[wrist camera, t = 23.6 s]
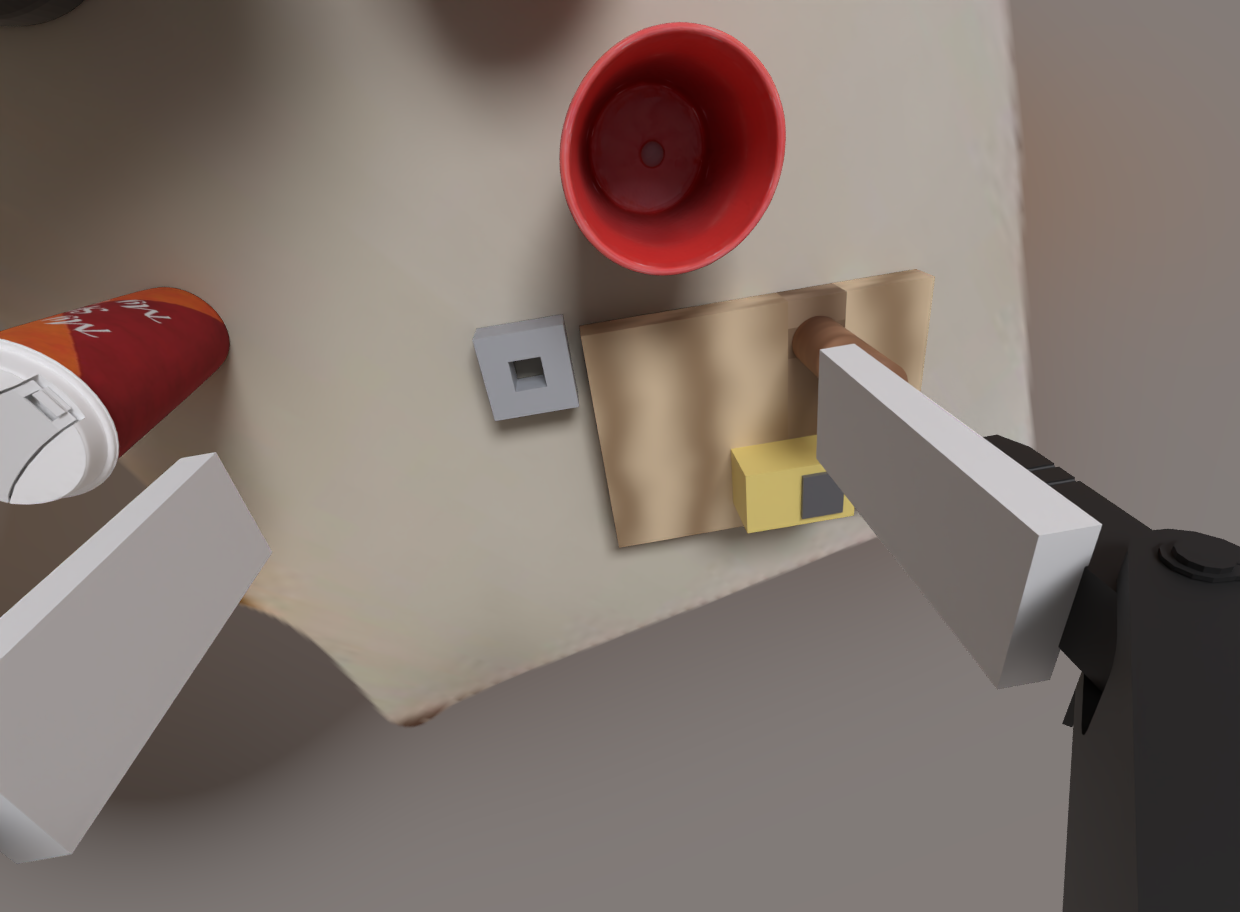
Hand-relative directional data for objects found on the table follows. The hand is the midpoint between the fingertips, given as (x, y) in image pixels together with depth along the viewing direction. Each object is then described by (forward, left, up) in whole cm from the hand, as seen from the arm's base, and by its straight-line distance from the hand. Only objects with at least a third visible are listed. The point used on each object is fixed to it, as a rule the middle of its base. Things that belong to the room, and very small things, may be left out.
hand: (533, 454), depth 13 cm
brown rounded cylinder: (+17, -9, -28) cm, 34 cm away
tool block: (-3, -8, -29) cm, 30 cm away
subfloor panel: (+13, -15, -29) cm, 35 cm away
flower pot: (+7, +4, -29) cm, 30 cm away
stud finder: (+15, -19, -26) cm, 36 cm away
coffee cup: (-25, -2, -29) cm, 38 cm away
